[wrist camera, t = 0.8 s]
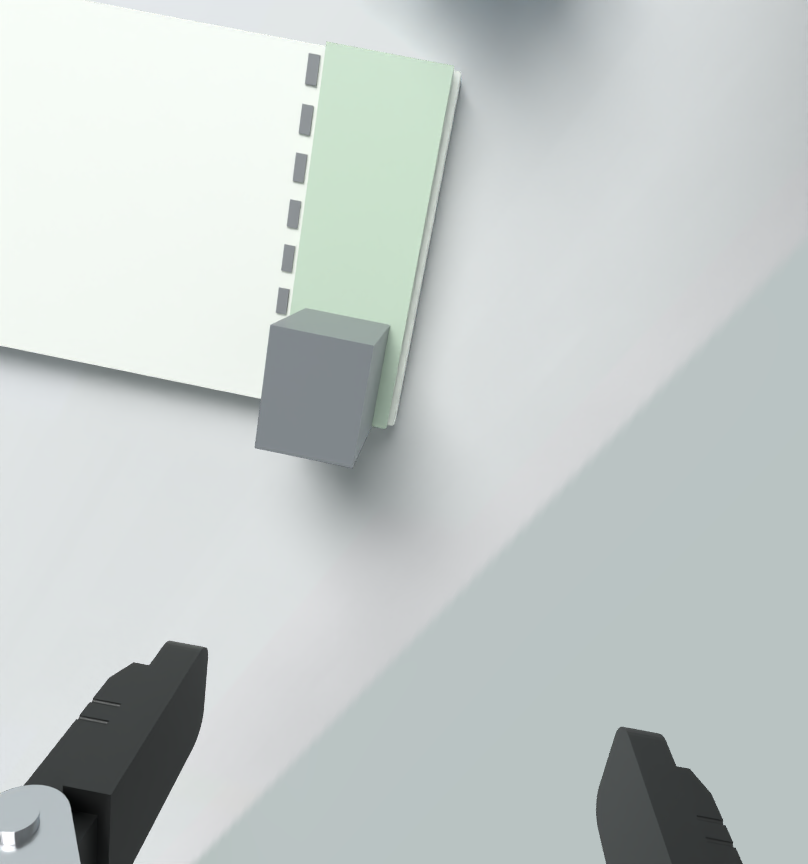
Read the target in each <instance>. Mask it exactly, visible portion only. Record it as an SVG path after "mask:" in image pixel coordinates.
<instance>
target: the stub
mask: <svg viewBox="0 0 808 864" xmlns="http://www.w3.org/2000/svg"><path fill="white" fill-rule="evenodd" d="M453 73H454V66H452V65H447V64H442V63H436V62H431V61H426V60H421V59H415V58H410V57H405V56H400V55H394V54H389V53H384V52H379V51H373V50H368V49H363V48H358V47H352V46H347V45H342V44H337V43H331V42H326V48H325V56H324V63H323V71H322V78H321V86H320V93H319V100H318V108H317V115H316V123H315V130H314V138H313V145H312V153H311V160H310V168H309V175H308V183H307V190H306V197H305V205H304V212H303V220H302V227H301V235H300V242H299V250H298V257H297V265H296V272H295V280H294V287H293V294H292V302H291V309H290V316H288V317H286V318H284V319H281V320H279V321H277V322H275V323H273V324H271V325H270V330H269V338H268V346H267V354H266V362H265V370H264V378H263V386H262V394H261V402H260V410H259V418H258V426H257V434H256V442H255V448H257V449H262V450H267V451H272V452H276V453H281V454H286V455H291V456H296V457H301V458H306V459H310V460H315V461H320V462H325V463H330V464H335V465H340V466H344V467H349V468H353V466H354V464H355V462H356V459H357V457H358V455H359V453H360V451H361V449H362V446H363V444H364V442H365V440H366V438H367V436H368V433H369V431H370V429H371V427H372V426H373V427H377V428H382V429H386V428H387V424H388V419H389V414H390V408H391V403H392V398H393V392H394V387H395V382H396V376H397V371H398V366H399V360H400V355H401V350H402V344H403V339H404V334H405V328H406V323H407V318H408V312H409V307H410V302H411V296H412V291H413V286H414V280H415V275H416V270H417V265H418V259H419V254H420V249H421V243H422V238H423V233H424V227H425V222H426V217H427V211H428V206H429V201H430V195H431V190H432V185H433V179H434V174H435V169H436V163H437V158H438V153H439V147H440V142H441V137H442V131H443V126H444V121H445V115H446V110H447V105H448V100H449V94H450V89H451V84H452V78H453Z"/></svg>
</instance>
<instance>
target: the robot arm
mask: <svg viewBox="0 0 808 864" xmlns="http://www.w3.org/2000/svg"><path fill="white" fill-rule="evenodd" d="M207 663H208V650H207V648H206V647H201V646H195V645H190V644H185V643H179V642H174V641H168V642H166V643H165V644H164V646H163V647H162V648H161V650H160V651H159V653H158V654H157V655H156V657H155V658H154V659H153V661H152V662H151V664H150V665H144V664H139V663H134V662H133V663H132V664H130V665H129V666H127V667H126V668H124V669H122V670H121V671H119V672H118V673H116V674H115V675H113V676H111V677H110V678H109V679H108V680H107V681H106V683H105V684H104V685H103V686H102V688H101V689H100V690H99V691H98V693H97V694H96V695H95V696H94V698H93V701H92V703H91V702H90V703H89V704H88V705H87V707H86V708H85V709H84V710H83V712H82V713H81V714H80V717H79V719H78V720H77V719H76V720H75V722H74V723H73V724H72V725H71V727H70V728H69V729H68V731H67V732H66V733H65V734H64V736H63V737H62V738H61V739H60V741H59V742H58V743H57V744H56V746H55V747H54V748H53V749H52V751H51V752H50V753H49V755H48V756H47V757H46V758H45V760H44V761H43V762H42V763H41V765H40V766H39V767H38V768H37V770H36V771H35V772H34V773H33V775H32V776H31V777H30V779H29V780H28V781H27V782H26V783H25V785H24V786H20V787H16V788H12V789H9V790H6V791H4V792H2V793H0V864H133V862H134V860H135V858H136V856H137V855H138V853H139V851H140V849H141V847H142V845H143V843H144V841H145V839H146V837H147V835H148V833H149V831H150V830H151V828H152V826H153V824H154V822H155V820H156V818H157V816H158V814H159V812H160V810H161V808H162V806H163V805H164V803H165V801H166V799H167V797H168V795H169V793H170V791H171V789H172V787H173V785H174V783H175V781H176V780H177V778H178V776H179V774H180V772H181V770H182V768H183V766H184V764H185V762H186V760H187V758H188V756H189V755H190V753H191V751H192V749H193V747H194V745H195V742H196V740H197V737H198V734H199V731H200V727H201V723H202V718H203V712H204V700H205V688H206V675H207ZM596 816H597V825H598V830H599V834H600V839H601V843H602V847H603V852H604V855H605V860H606V864H743V863H742V861H741V860H740V857H739V854H738V852H737V850H736V848H733V841H732V839H731V837H730V835H729V832H728V830H727V828H726V826H725V825H723V819H722V817H721V814H720V812H719V810H718V808H717V806H716V804H715V801H714V799H713V797H712V795H711V793H710V792H709V791H708V790H707V788H706V787H705V786H704V785H703V784H702V783H701V781H700V780H699V779H698V778H697V777H696V776H695V774H694V773H693V772H692V771H691V770H690V769H688V768H682V767H677V766H676V764H675V762H674V759H673V757H672V755H671V752H670V750H669V747H668V745H667V742H666V740H665V738H664V737H663V736H662V735H661V734H658V733H653V732H647V731H642V730H637V729H631V728H626V727H620V728H619V729H618V730H617V732H616V735H615V738H614V741H613V744H612V747H611V751H610V753H609V757H608V760H607V763H606V766H605V770H604V773H603V776H602V779H601V783H600V786H599V789H598V794H597V803H596Z"/></svg>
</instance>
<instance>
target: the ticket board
mask: <svg viewBox="0 0 808 864" xmlns="http://www.w3.org/2000/svg"><path fill="white" fill-rule="evenodd" d="M325 48H326V46H323V45H318V44H313V43H307V42H302V41H297V40H292V39H286V38H281V37H276V36H271V35H265V34H260V33H255V32H250V31H244V30H239V29H234V28H229V27H223V26H218V25H213V24H208V23H202V22H197V21H192V20H187V19H181V18H176V17H171V16H166V15H160V14H155V13H150V12H145V11H139V10H134V9H129V8H124V7H118V6H113V5H108V4H103V3H97V2H92V1H87V0H0V346H4V347H9V348H14V349H19V350H24V351H29V352H34V353H39V354H44V355H48V356H53V357H58V358H63V359H68V360H73V361H78V362H83V363H88V364H93V365H97V366H102V367H107V368H112V369H117V370H122V371H127V372H132V373H137V374H142V375H146V376H151V377H156V378H161V379H166V380H171V381H176V382H181V383H186V384H191V385H196V386H200V387H205V388H210V389H215V390H220V391H225V392H230V393H235V394H240V395H245V396H249V397H254V398H259V399H261V394H262V386H263V378H264V370H265V362H266V354H267V346H268V338H269V330H270V325H271V324H273V323H275V322H277V321H279V320H281V319H284V318H286V317H288V316H290V309H291V302H292V294H293V287H294V280H295V272H296V265H297V257H298V250H299V242H300V235H301V227H302V220H303V212H304V205H305V197H306V190H307V183H308V175H309V168H310V160H311V153H312V145H313V138H314V130H315V123H316V115H317V108H318V100H319V93H320V86H321V78H322V71H323V63H324V56H325ZM460 83H461V72H460V71H454V73H453V78H452V84H451V89H450V94H449V100H448V105H447V110H446V115H445V121H444V126H443V131H442V137H441V142H440V147H439V153H438V158H437V163H436V169H435V174H434V179H433V185H432V190H431V195H430V201H429V206H428V211H427V217H426V222H425V227H424V233H423V238H422V243H421V249H420V254H419V259H418V265H417V270H416V275H415V280H414V286H413V291H412V296H411V302H410V307H409V312H408V318H407V323H406V328H405V334H404V339H403V344H402V350H401V355H400V360H399V366H398V371H397V376H396V382H395V387H394V392H393V398H392V403H391V408H390V414H389V419H388V424H387V425H392V426H394V423H395V420H396V417H397V412H398V407H399V401H400V396H401V391H402V386H403V380H404V375H405V370H406V365H407V360H408V354H409V349H410V344H411V339H412V333H413V328H414V323H415V318H416V313H417V307H418V302H419V297H420V292H421V286H422V281H423V276H424V271H425V266H426V260H427V255H428V250H429V245H430V239H431V234H432V229H433V224H434V219H435V213H436V208H437V203H438V198H439V192H440V187H441V182H442V177H443V172H444V166H445V161H446V156H447V151H448V145H449V140H450V135H451V130H452V125H453V119H454V114H455V109H456V104H457V98H458V93H459V88H460Z"/></svg>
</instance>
